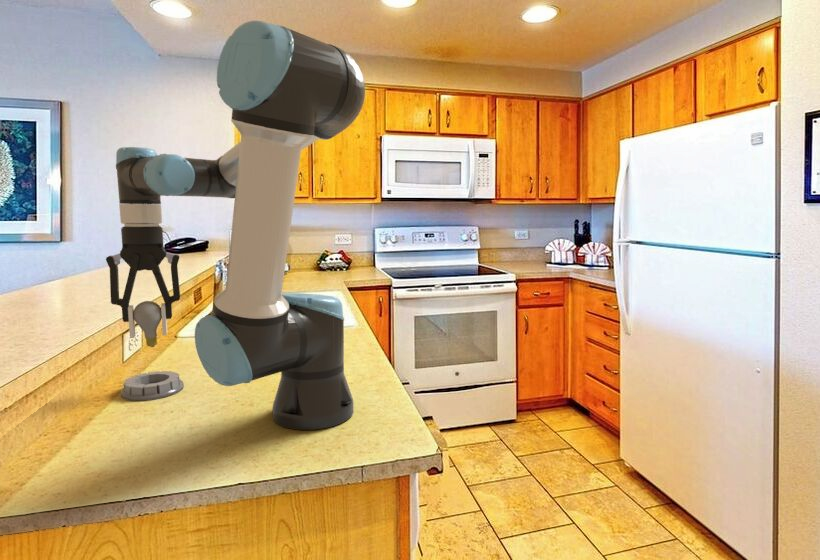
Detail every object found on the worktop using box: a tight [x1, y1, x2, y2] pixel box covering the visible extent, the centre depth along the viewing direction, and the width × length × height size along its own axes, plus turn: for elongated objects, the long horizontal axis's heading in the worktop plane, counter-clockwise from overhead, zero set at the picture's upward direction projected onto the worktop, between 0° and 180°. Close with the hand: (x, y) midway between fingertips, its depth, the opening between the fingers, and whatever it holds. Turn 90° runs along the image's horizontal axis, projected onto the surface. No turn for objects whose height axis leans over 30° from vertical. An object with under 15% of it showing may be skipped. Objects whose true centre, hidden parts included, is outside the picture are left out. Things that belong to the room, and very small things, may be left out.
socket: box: [120, 370, 184, 402], centre depth 106 cm, size 12×12×3 cm
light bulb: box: [133, 300, 162, 348], centre depth 105 cm, size 5×6×10 cm
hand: (149, 335), depth 105 cm, fingers closed on light bulb, 5 cm apart
